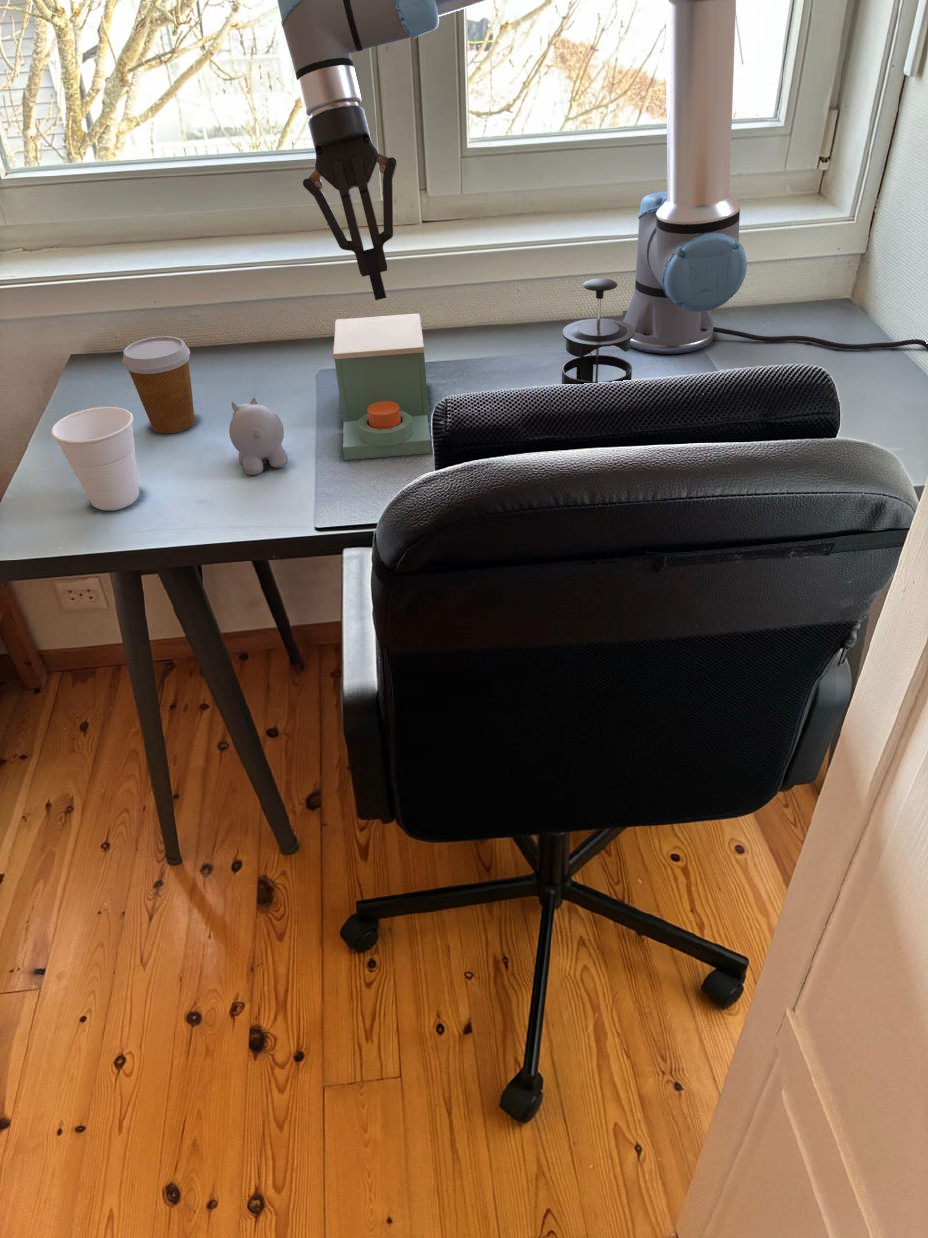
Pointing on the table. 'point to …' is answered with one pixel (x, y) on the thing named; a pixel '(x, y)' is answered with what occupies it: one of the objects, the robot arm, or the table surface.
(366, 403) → the coffee maker
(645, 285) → the robot arm
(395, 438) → the control block
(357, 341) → the lid
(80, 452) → the cup
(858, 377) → the table surface
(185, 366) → the disposable coffee cup
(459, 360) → the table surface
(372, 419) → the button
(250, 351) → the table surface
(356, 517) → the table surface
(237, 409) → the round bodied animal figurine
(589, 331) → the french press
